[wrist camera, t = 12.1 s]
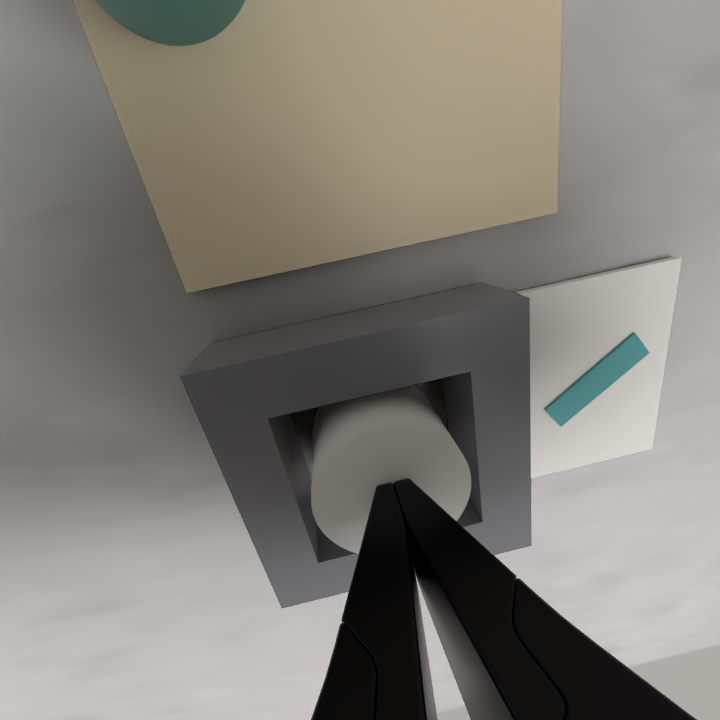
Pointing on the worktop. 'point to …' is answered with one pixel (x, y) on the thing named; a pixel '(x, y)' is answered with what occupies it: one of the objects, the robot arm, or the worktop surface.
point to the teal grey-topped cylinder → (173, 18)
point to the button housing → (357, 379)
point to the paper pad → (337, 127)
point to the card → (598, 363)
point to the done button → (381, 459)
